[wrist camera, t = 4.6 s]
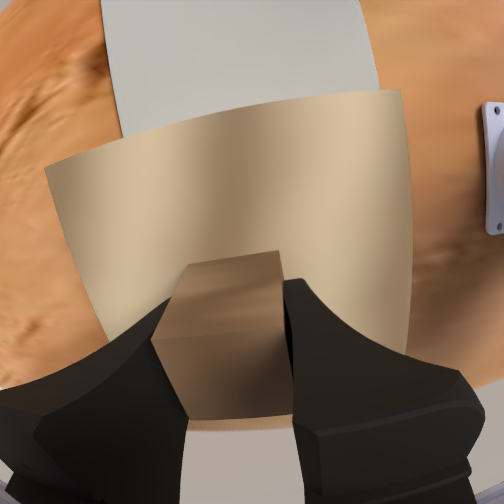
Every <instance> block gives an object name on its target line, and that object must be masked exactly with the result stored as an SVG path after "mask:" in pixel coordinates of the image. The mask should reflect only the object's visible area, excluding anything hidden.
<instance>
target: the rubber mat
mask: <svg viewBox="0 0 504 504" xmlns="http://www.w3.org/2000/svg"><path fill="white" fill-rule="evenodd" d="M101 7H102V16H103V24H104V32H105V39H106V46H107V53H108V59H109V66H110V72H111V77H112V83H113V89H114V94H115V99H116V104H117V109H118V114H119V119H120V124H121V129H122V133H123V138H125V137H128V136H131V135H134V134H138V133H141V132H144V131H147V130H151V129H154V128H158V127H161V126H165V125H168V124H172V123H176V122H180V121H183V120H187V119H191V118H195V117H199V116H204V115H208V114H212V113H217V112H221V111H226V110H231V109H235V108H240V107H246V106H251V105H256V104H262V103H268V102H274V101H280V100H286V99H293V98H300V97H308V96H316V95H325V94H334V93H345V92H357V91H371V90H380V87H379V81H378V76H377V71H376V66H375V62H374V57H373V53H372V48H371V44H370V40H369V36H368V32H367V28H366V24H365V20H364V17H363V13H362V10H361V6H360V3H359V0H101Z"/></svg>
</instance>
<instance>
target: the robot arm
mask: <svg viewBox="0 0 504 504" xmlns="http://www.w3.org/2000/svg"><path fill="white" fill-rule="evenodd" d="M494 108H496V114H495V112H494ZM482 116H483V125H484V136H485V150H486V177H487V199H486V226H485V228H486V232H487V233H489V234H490V235H497V234H502V233H504V103H499V102H485V103H484V104H483V105H482ZM498 224H499V227H498V228H497V225H498ZM283 296H284V302H285V308H286V314H287V320H288V326H289V332H290V338H291V345H292V351H293V374H294V390H293V418H292V423H293V428H294V434H295V439H296V444H297V450H298V455H299V461H300V466H301V471H302V477H303V482H304V495H305V504H504V481H503V482H501V483H499V484H497V485H495V486H493V487H491V488H489V489H487V490H485V491H482V492H480V493H478V494H476V495H474V493H473V490H472V487H471V485H470V482H469V479H468V477H469V476H470V475H471V473H472V470H471V467H470V464H469V462H468V459H467V456H468V454H469V453H470V451H471V449H472V447H473V446H474V444H475V442H476V440H477V438H478V437H479V435H480V433H481V430H482V428H483V425H484V422H485V410H484V408H483V406H482V405H481V403H480V401H479V399H478V397H477V395H476V394H475V392H474V391H473V389H472V387H471V386H470V385H469V383H468V382H467V381H466V379H465V378H464V377H463V376H462V374H461V373H460V371H459V370H454V369H450V368H446V367H442V366H438V365H434V364H430V363H426V362H423V361H420V360H417V359H414V358H411V357H409V356H406V355H403V354H400V353H398V352H396V351H393V350H391V349H389V348H387V347H385V346H383V345H381V344H379V343H377V342H375V341H373V340H371V339H369V338H367V337H366V336H364V335H362V334H361V333H359V332H358V331H356V330H355V329H353V328H352V327H351V326H349V325H348V324H347V323H345V322H344V321H343V320H342V319H340V318H339V317H338V316H337V315H336V314H335V313H333V312H332V311H331V310H330V309H329V308H328V307H327V306H326V305H325V304H324V303H323V302H322V301H321V300H320V299H319V298H318V296H317V295H316V294H315V293H314V292H313V291H312V289H311V288H310V287H309V285H308V284H307V282H306V280H304V279H303V278H297V279H290V280H284V281H283ZM171 297H172V296H171ZM171 297H170V298H168V299H166V300H165V301H164V302H162V303H161V304H160V305H158V306H157V307H156V308H154V309H153V310H152V311H151V312H149V313H148V314H147V315H145V316H144V317H143V318H142V319H140V320H139V321H138V322H137V323H135V324H134V325H133V326H131V327H130V328H129V329H127V330H126V331H125V332H123V333H122V334H121V335H119V336H118V337H116V338H115V339H114V340H112V341H111V342H110V343H108V344H107V345H105V346H104V347H102V348H100V349H99V350H97V351H96V352H94V353H92V354H90V355H89V356H87V357H85V358H84V359H82V360H80V361H78V362H76V363H74V364H72V365H70V366H68V367H66V368H64V369H62V370H60V371H58V372H55V373H53V374H50V375H48V376H46V377H43V378H40V379H38V380H35V381H32V382H29V383H26V384H23V385H19V386H16V387H12V388H8V389H4V390H0V459H1V460H2V461H3V462H4V463H5V464H6V465H7V466H8V467H9V468H10V469H11V470H12V471H13V472H14V473H13V475H12V477H11V479H10V481H9V483H8V484H7V483H5V482H3V481H1V480H0V504H179V500H180V479H181V470H182V459H183V451H184V443H185V435H186V430H187V425H188V421H189V417H188V415H187V413H186V411H185V409H184V408H183V406H182V404H181V402H180V400H179V398H178V396H177V394H176V392H175V390H174V388H173V386H172V384H171V382H170V380H169V378H168V376H167V374H166V372H165V370H164V368H163V365H162V363H161V361H160V359H159V357H158V355H157V353H156V350H155V348H154V346H153V344H152V342H151V338H152V336H153V334H154V332H155V330H156V327H157V325H158V323H159V321H160V319H161V317H162V315H163V313H164V311H165V309H166V307H167V305H168V303H169V301H170V299H171Z"/></svg>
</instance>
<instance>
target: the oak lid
mask: <svg viewBox="0 0 504 504" xmlns="http://www.w3.org/2000/svg"><path fill="white" fill-rule="evenodd" d="M44 169H45V173H46V176H47V180H48V184H49V187H50V191H51V194H52V198H53V201H54V204H55V208H56V211H57V214H58V217H59V220H60V223H61V226H62V229H63V232H64V235H65V238H66V241H67V244H68V246H69V249H70V252H71V254H72V257H73V260H74V262H75V265H76V267H77V270H78V273H79V275H80V277H81V280H82V282H83V285H84V287H85V289H86V292H87V294H88V296H89V299H90V301H91V303H92V306H93V308H94V310H95V312H96V314H97V317H98V319H99V321H100V323H101V325H102V327H103V329H104V331H105V333H106V335H107V337H108V339H109V341H110V342H111V341H112V340H114V339H115V338H116V337H118V336H119V335H121V334H122V333H123V332H125V331H126V330H127V329H129V328H130V327H131V326H133V325H134V324H135V323H137V322H138V321H139V320H140V319H142V318H143V317H144V316H145V315H147V314H148V313H149V312H151V311H152V310H153V309H154V308H156V307H157V306H158V305H160V304H161V303H162V302H164V301H165V300H166V299H168V298H170V297H171V296H172V297H171V299H170V301H169V303H168V305H167V307H166V309H165V311H164V313H163V315H162V317H161V319H160V321H159V323H158V325H157V327H156V330H155V332H154V334H153V336H152V338H151V342H152V344H153V346H154V348H155V350H156V353H157V355H158V357H159V359H160V361H161V363H162V365H163V368H164V370H165V372H166V374H167V376H168V378H169V380H170V382H171V384H172V386H173V388H174V390H175V392H176V394H177V396H178V398H179V400H180V402H181V404H182V406H183V408H184V409H185V411H186V413H187V415H188V417H189V419H190V420H222V419H242V418H257V417H269V416H279V415H289V414H293V390H294V374H293V351H292V345H291V338H290V332H289V326H288V320H287V314H286V308H285V302H284V296H283V281H284V280H290V279H297V278H303V279H304V280H306V282H307V284H308V285H309V287H310V288H311V289H312V291H313V292H314V293H315V294H316V295H317V296H318V298H319V299H320V300H321V301H322V302H323V303H324V304H325V305H326V306H327V307H328V308H329V309H330V310H331V311H332V312H333V313H335V314H336V315H337V316H338V317H339V318H340V319H342V320H343V321H344V322H345V323H347V324H348V325H349V326H351V327H352V328H353V329H355V330H356V331H358V332H359V333H361V334H362V335H364V336H366V337H367V338H369V339H371V340H373V341H375V342H377V343H379V344H381V345H383V346H385V347H387V348H389V349H391V350H393V351H396V352H398V353H400V354H403V355H405V354H406V346H407V337H408V327H409V316H410V304H411V288H412V263H413V212H412V188H411V172H410V159H409V149H408V139H407V130H406V122H405V115H404V108H403V101H402V95H401V89H391V90H371V91H357V92H345V93H334V94H325V95H316V96H308V97H300V98H293V99H286V100H280V101H274V102H268V103H262V104H256V105H251V106H246V107H240V108H235V109H231V110H226V111H221V112H217V113H212V114H208V115H204V116H199V117H195V118H191V119H187V120H183V121H180V122H176V123H172V124H168V125H165V126H161V127H158V128H154V129H151V130H147V131H144V132H141V133H138V134H134V135H131V136H128V137H125V138H122V139H119V140H116V141H113V142H110V143H107V144H104V145H101V146H99V147H96V148H93V149H90V150H88V151H85V152H82V153H80V154H77V155H74V156H72V157H69V158H67V159H64V160H62V161H59V162H57V163H54V164H52V165H50V166H47V167H45V168H44Z"/></svg>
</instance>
